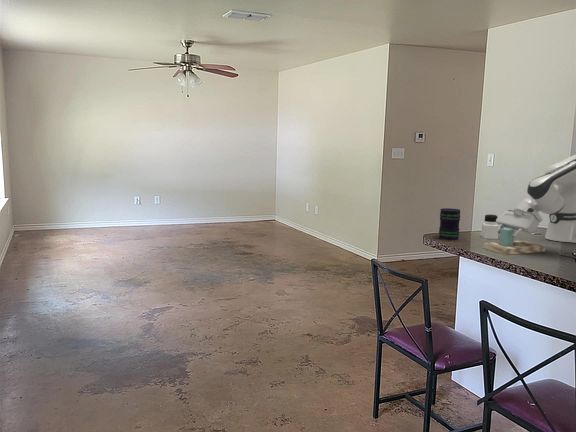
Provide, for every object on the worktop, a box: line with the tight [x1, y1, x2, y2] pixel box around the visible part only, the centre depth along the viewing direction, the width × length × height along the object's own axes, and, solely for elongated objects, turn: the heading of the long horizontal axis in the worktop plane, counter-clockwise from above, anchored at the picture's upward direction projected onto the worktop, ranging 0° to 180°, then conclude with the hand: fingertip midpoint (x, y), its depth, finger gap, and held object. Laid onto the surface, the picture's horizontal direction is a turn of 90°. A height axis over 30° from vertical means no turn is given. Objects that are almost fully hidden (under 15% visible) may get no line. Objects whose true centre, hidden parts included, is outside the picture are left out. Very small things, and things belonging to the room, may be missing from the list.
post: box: [499, 228, 515, 247], centre depth 226 cm, size 4×4×10 cm
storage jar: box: [438, 207, 461, 241], centre depth 252 cm, size 10×10×15 cm
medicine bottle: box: [480, 214, 500, 240], centre depth 255 cm, size 7×7×12 cm
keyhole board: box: [483, 239, 546, 256], centre depth 228 cm, size 22×14×2 cm, turn 108°
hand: (505, 234), depth 225 cm, fingers open, 8 cm apart
